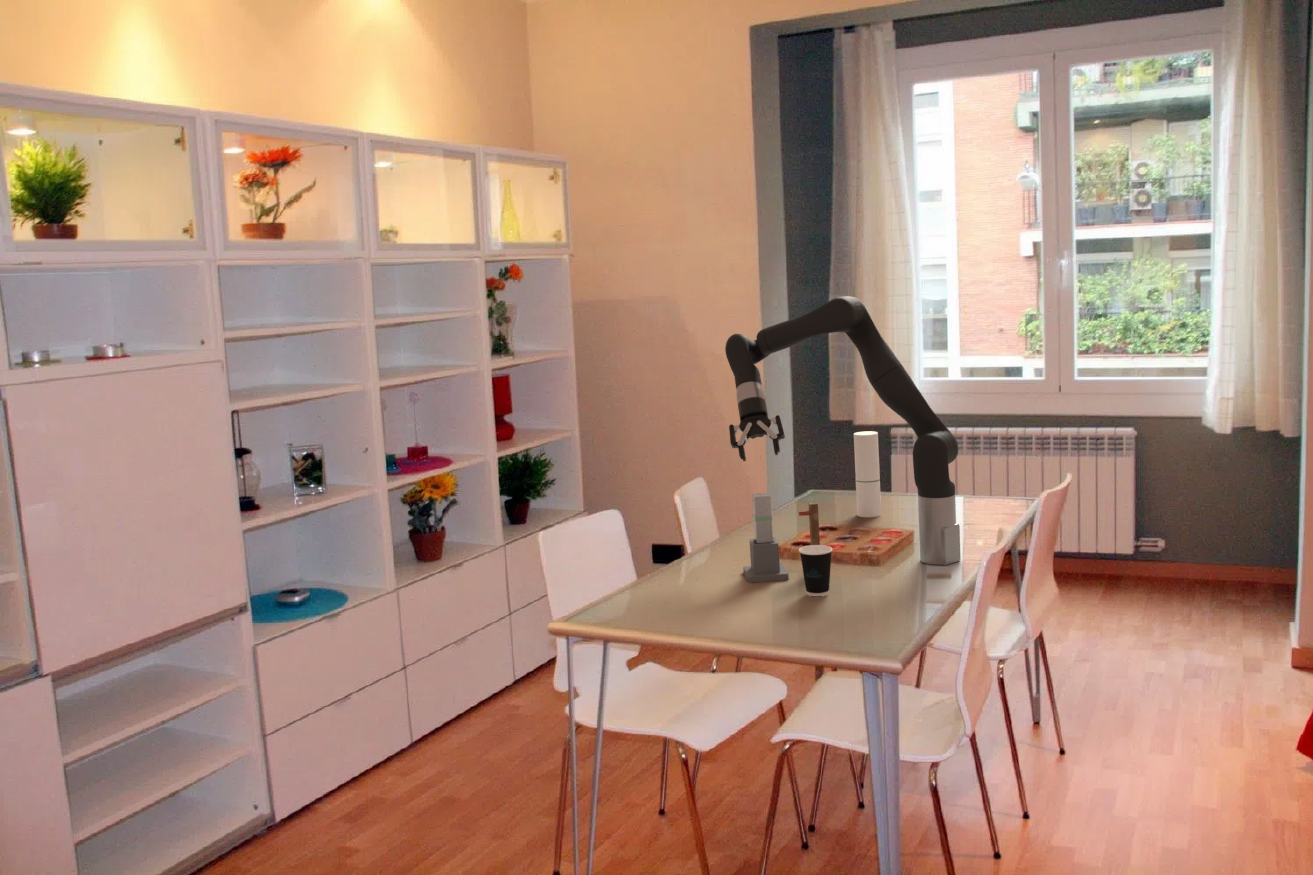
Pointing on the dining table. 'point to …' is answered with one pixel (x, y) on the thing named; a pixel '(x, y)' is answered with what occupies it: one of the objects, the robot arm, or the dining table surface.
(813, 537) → the height gauge
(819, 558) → the dixie cup
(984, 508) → the dining table surface
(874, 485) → the cylindrical container
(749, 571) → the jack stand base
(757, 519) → the steel column
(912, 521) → the dining table surface
